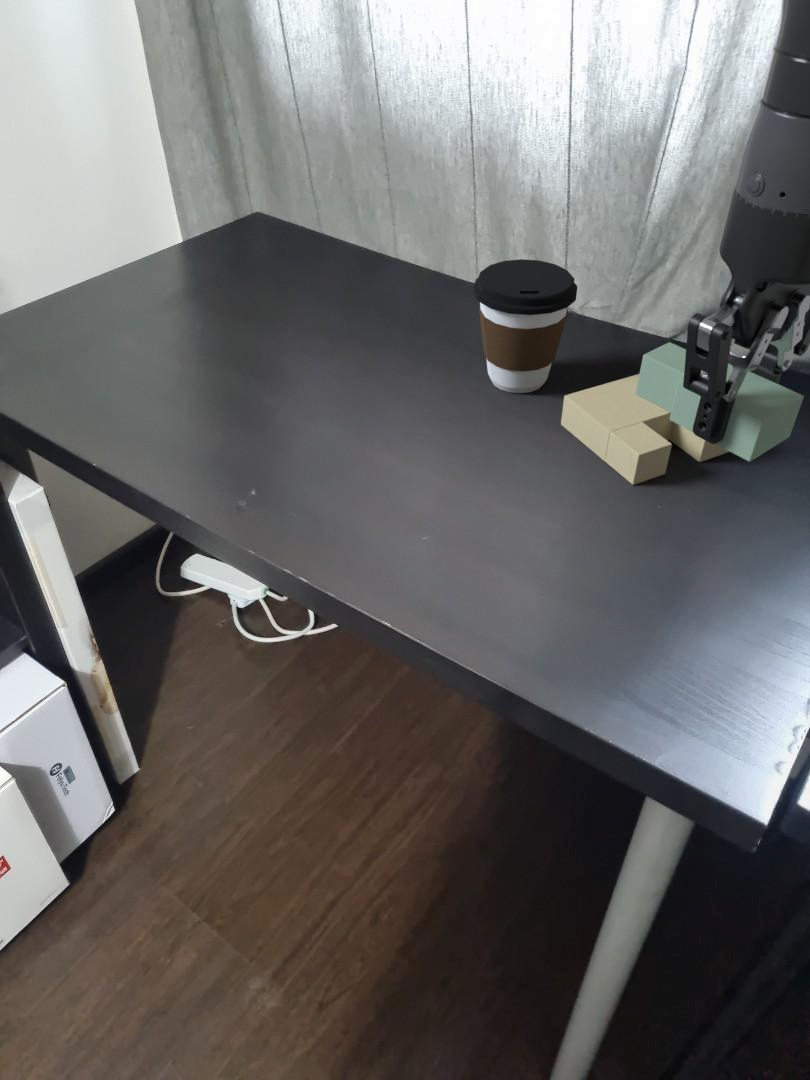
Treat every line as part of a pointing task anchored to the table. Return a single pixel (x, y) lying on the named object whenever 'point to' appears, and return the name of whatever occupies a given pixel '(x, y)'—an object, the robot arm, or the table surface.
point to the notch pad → (629, 430)
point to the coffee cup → (522, 320)
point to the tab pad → (753, 419)
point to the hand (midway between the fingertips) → (730, 423)
